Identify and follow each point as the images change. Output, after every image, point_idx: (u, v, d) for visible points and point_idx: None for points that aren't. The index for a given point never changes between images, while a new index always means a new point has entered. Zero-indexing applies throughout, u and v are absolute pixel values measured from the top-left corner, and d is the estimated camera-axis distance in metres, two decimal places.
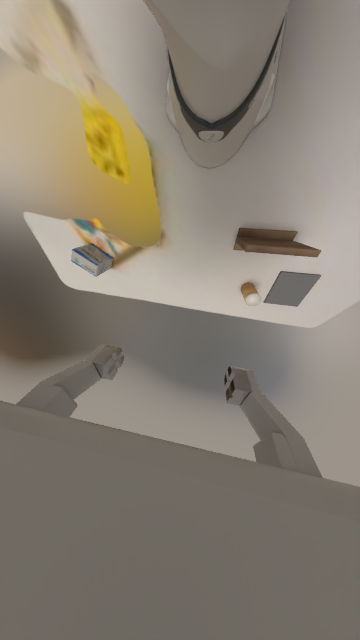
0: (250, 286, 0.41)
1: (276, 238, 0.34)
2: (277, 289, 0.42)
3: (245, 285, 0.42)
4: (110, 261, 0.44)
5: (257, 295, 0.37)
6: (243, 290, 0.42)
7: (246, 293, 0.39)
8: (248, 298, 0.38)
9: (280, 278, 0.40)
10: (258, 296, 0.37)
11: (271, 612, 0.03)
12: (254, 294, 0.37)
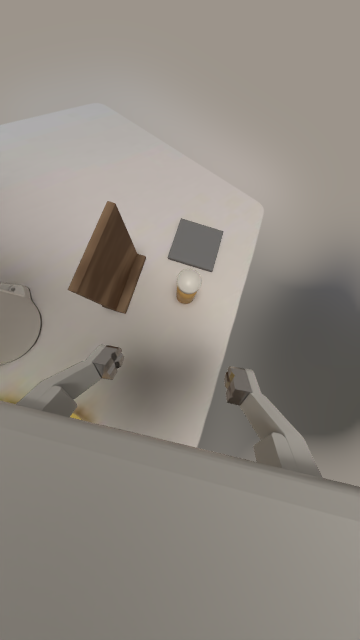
0: None
1: None
2: (191, 257, 0.30)
3: (177, 297, 0.28)
4: None
5: (180, 274, 0.22)
6: (182, 298, 0.26)
7: (180, 292, 0.23)
8: (184, 287, 0.21)
9: (176, 256, 0.30)
10: (183, 273, 0.22)
11: (271, 612, 0.03)
12: (178, 279, 0.22)
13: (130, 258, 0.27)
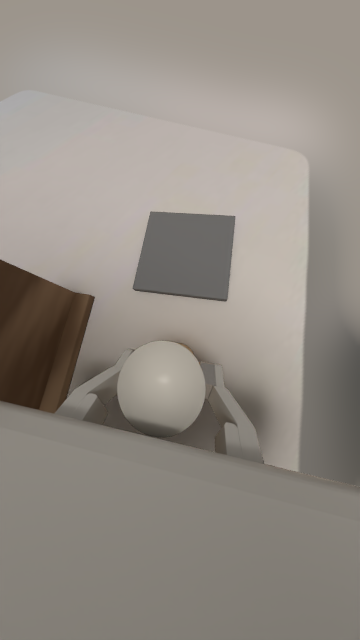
0: None
1: None
2: (180, 280, 0.15)
3: None
4: None
5: (129, 368, 0.06)
6: None
7: None
8: (145, 419, 0.06)
9: (148, 284, 0.15)
10: (136, 360, 0.06)
11: (271, 612, 0.03)
12: (122, 385, 0.06)
13: (49, 309, 0.13)
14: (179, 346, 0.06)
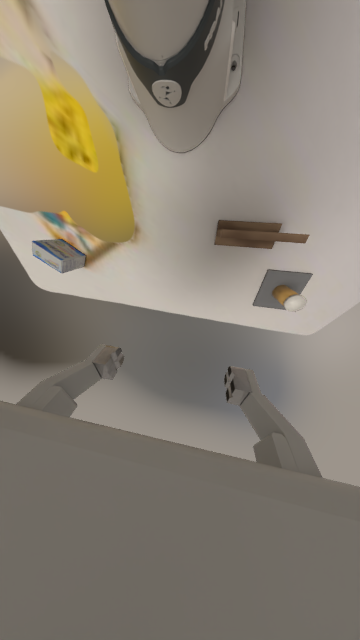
0: (287, 288, 0.34)
1: (259, 231, 0.30)
2: (266, 290, 0.38)
3: (279, 287, 0.35)
4: (81, 258, 0.40)
5: (302, 298, 0.30)
6: (278, 293, 0.35)
7: (285, 296, 0.32)
8: (289, 302, 0.31)
9: (268, 277, 0.36)
10: (303, 299, 0.30)
11: (271, 612, 0.03)
12: (298, 296, 0.30)
13: None
14: None
